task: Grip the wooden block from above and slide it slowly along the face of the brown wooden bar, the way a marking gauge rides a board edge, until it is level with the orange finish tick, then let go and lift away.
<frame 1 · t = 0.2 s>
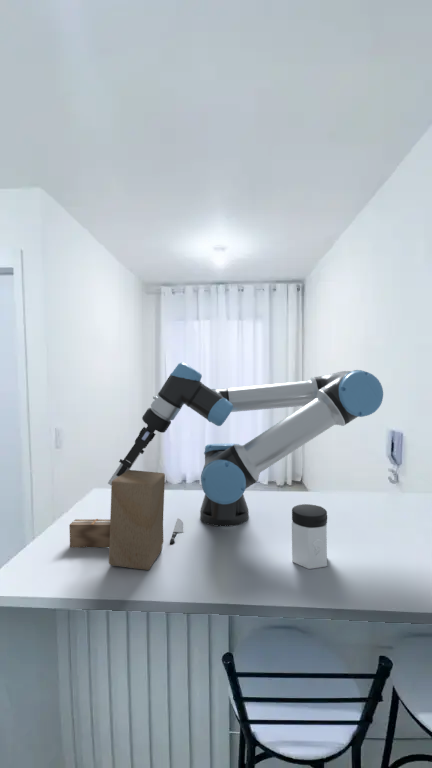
hand: (118, 477, 100), 17 cm above the table, tool tilted 35°, fingers open, 13 cm apart
wooden block: (136, 558, 88), on the table, touching gripper
jar: (309, 560, 86), on the table
brown wooden bar: (117, 544, 96), on the table
chef's knife: (179, 531, 105), on the table
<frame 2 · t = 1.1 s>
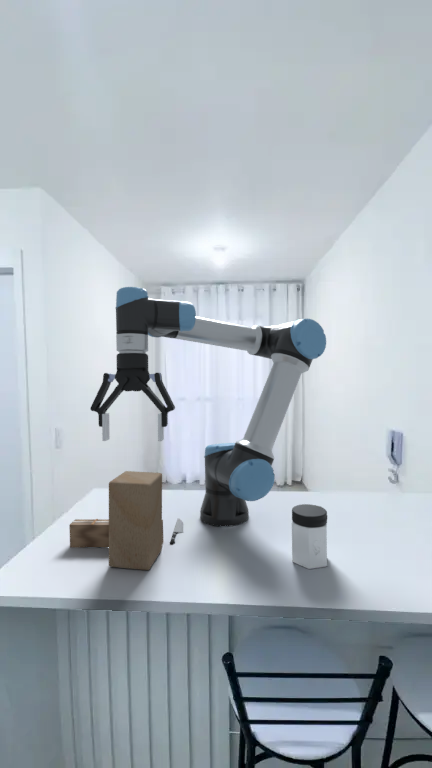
hand: (133, 440, 88), 29 cm above the table, tool pointing down, fingers open, 13 cm apart
wooden block: (136, 559, 88), on the table
everything else where it was.
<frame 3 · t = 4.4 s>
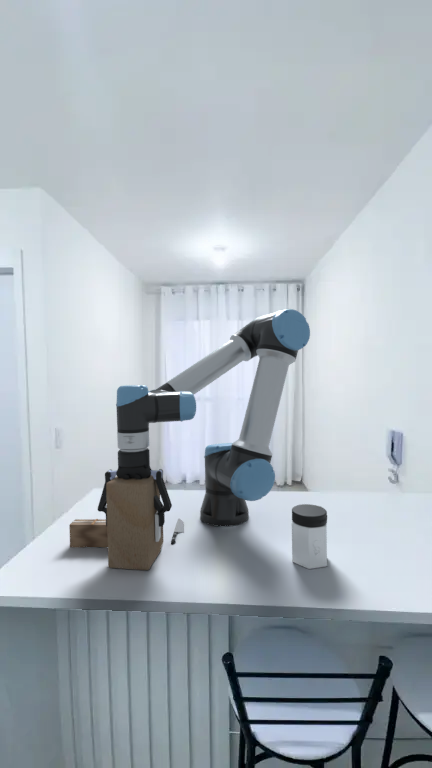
hand: (135, 539, 88), 5 cm above the table, tool pointing down, fingers closed on wooden block, 10 cm apart
wooden block: (136, 559, 88), on the table, touching gripper
everything else where it was.
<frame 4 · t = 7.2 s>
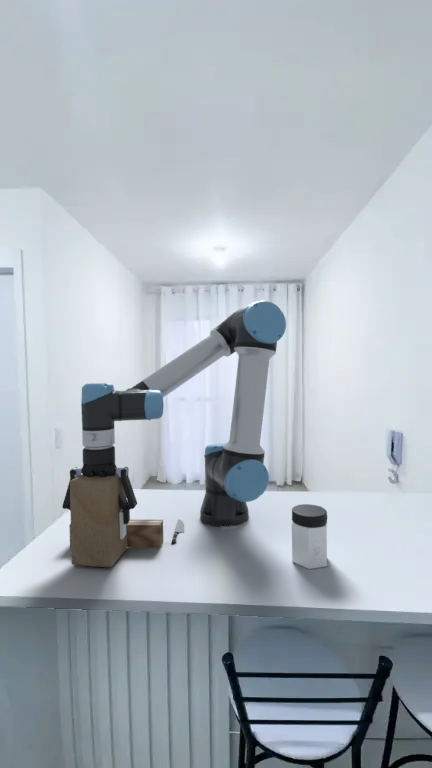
hand: (100, 536, 88), 5 cm above the table, tool pointing down, fingers closed on wooden block, 10 cm apart
wooden block: (100, 557, 88), on the table, touching gripper
everything else where it was.
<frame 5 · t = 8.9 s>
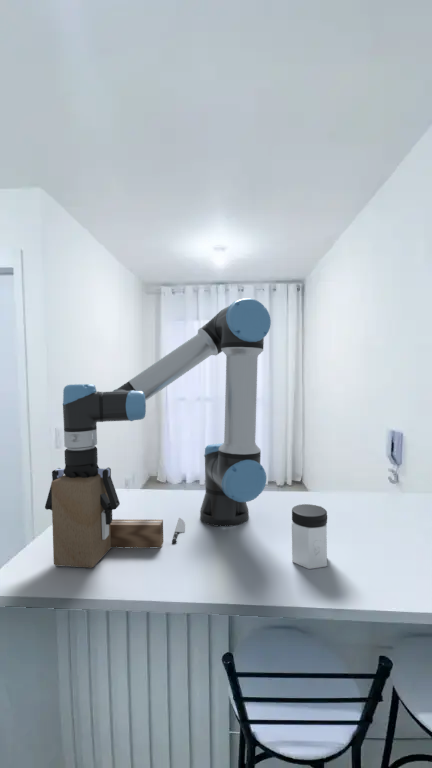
hand: (83, 537, 89), 5 cm above the table, tool pointing down, fingers closed on wooden block, 10 cm apart
wooden block: (83, 557, 89), on the table, touching gripper
everything else where it was.
when the fingers open (5 cm above the table, at t = 10.2 s): wooden block stays where it is, on the table.
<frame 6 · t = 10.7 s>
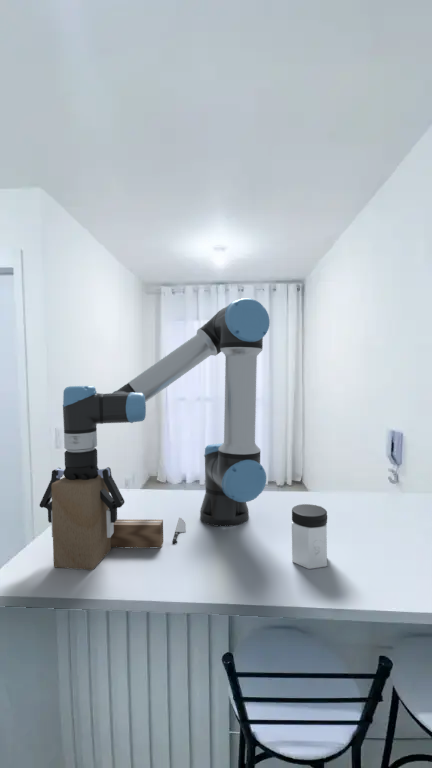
hand: (83, 535, 89), 6 cm above the table, tool pointing down, fingers open, 13 cm apart
wooden block: (83, 559, 89), on the table
everything else where it was.
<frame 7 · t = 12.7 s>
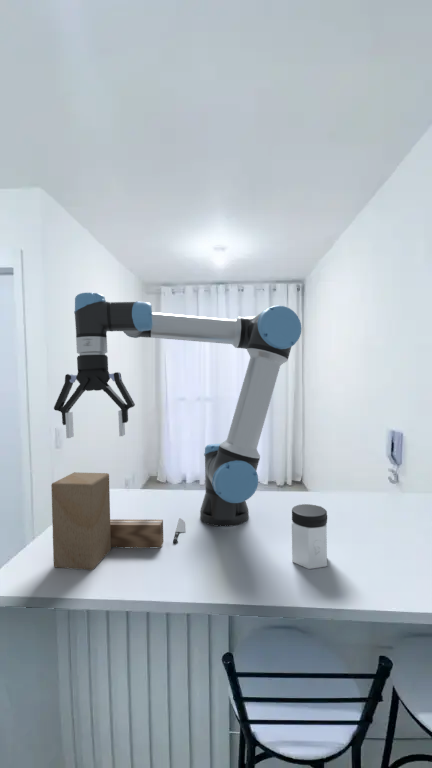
hand: (96, 436, 94), 29 cm above the table, tool pointing down, fingers open, 13 cm apart
nothing on the table moved.
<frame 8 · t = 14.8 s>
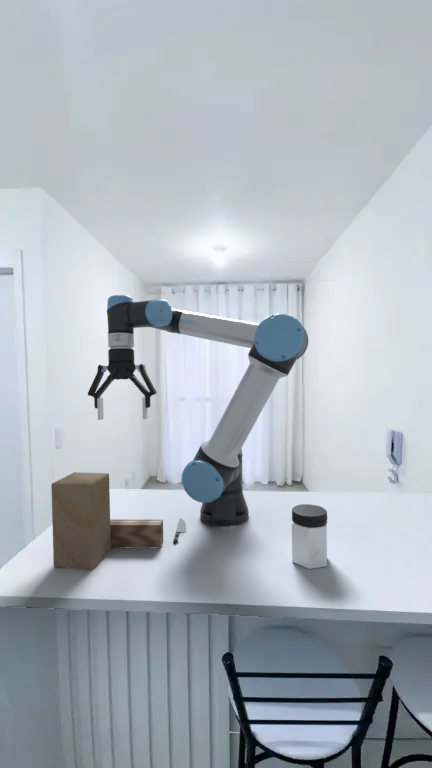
hand: (122, 419, 109), 32 cm above the table, tool pointing down, fingers open, 13 cm apart
nothing on the table moved.
at the end: wooden block 0.1 cm from the target spot, on the table; wooden block tilted 0°; the gripper is holding nothing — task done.
